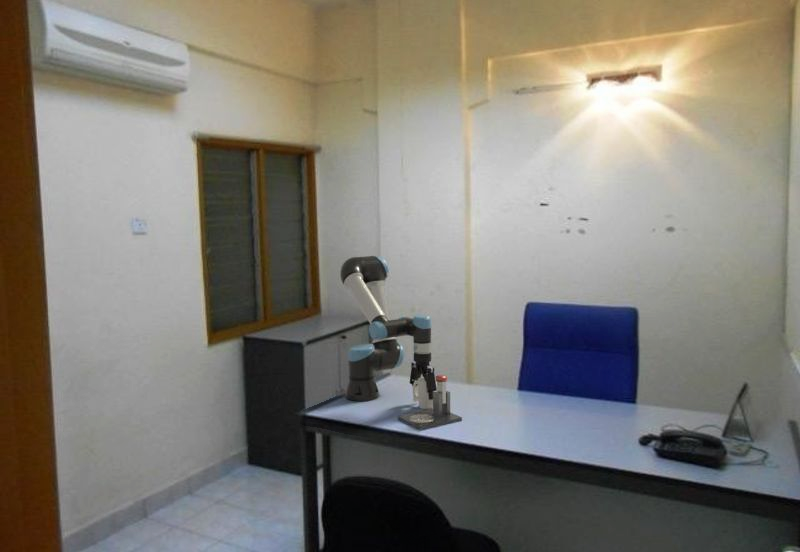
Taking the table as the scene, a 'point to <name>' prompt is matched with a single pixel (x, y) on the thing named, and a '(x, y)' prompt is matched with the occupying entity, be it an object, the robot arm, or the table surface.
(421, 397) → the mug
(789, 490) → the table surface
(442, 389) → the red-capped tube
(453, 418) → the dark grey holder stand
